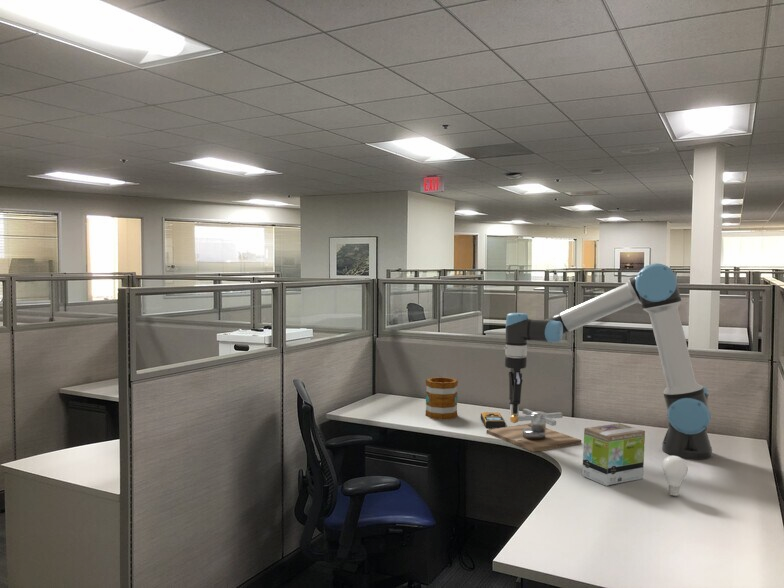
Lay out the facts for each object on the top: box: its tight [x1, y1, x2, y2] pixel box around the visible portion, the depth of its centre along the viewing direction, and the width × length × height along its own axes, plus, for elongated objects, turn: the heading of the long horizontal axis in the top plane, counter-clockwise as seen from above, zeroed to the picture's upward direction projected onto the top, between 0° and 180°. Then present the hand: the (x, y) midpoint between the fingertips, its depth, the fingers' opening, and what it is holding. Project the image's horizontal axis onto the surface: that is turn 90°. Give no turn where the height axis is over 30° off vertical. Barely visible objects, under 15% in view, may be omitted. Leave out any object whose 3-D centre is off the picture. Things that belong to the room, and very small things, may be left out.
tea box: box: [581, 422, 646, 487], centre depth 177 cm, size 15×10×15 cm, turn 117°
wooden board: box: [486, 422, 582, 453], centre depth 219 cm, size 26×22×2 cm
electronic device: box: [480, 411, 507, 429], centre depth 240 cm, size 8×16×3 cm, turn 179°
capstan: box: [509, 408, 564, 440], centre depth 215 cm, size 21×19×8 cm
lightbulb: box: [661, 455, 689, 497], centre depth 163 cm, size 6×6×11 cm
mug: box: [425, 376, 459, 421], centre depth 254 cm, size 20×14×15 cm
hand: (514, 421), depth 215 cm, fingers closed
